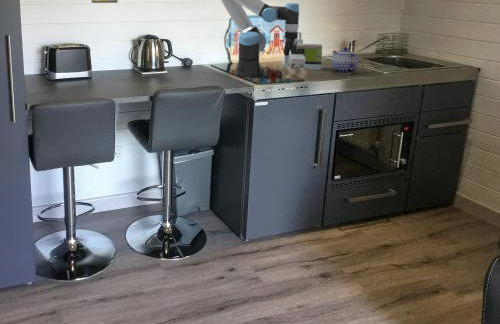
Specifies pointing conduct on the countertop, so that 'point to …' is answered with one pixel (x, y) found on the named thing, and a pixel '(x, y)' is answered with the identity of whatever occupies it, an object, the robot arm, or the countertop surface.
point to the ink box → (296, 61)
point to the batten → (296, 73)
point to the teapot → (344, 61)
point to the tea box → (311, 55)
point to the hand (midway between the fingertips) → (289, 68)
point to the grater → (299, 41)
